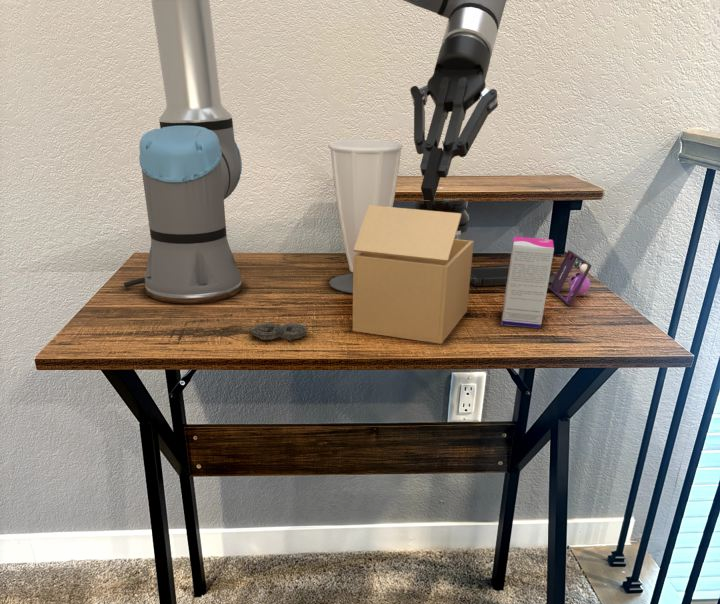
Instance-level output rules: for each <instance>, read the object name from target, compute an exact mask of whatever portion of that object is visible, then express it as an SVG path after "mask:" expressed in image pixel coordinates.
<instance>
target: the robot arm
mask: <svg viewBox="0 0 720 604" xmlns="http://www.w3.org/2000/svg"><path fill="white" fill-rule="evenodd" d="M402 1H403V2H405V3H409V4H411V5H414V6H416V7H418V8H421V9H424V10H427V11H429V12H431V13H435V14H437V16H441V17H444V18H446V19H448V20H447V24H446V26H445V30H444V34H443V38H442V41H441V46H440V48H439V51H438V55H437V59H436V62H435V66H434V70H433V74H432V75H431V77H430V78H429V79H428V81H427V84H426V85H424V86H422V87H420V88H419V86H417V85H412V86H411V87H410V88H409V91H410V96H411V100H412V104H413V142H414V146H415V151H416V153H417V154H418V155H422V158H421V161H420V165H419V168H420V173H421V176H422V177H423V178H422V182H421V185H420V190H421V191H420V192H422V195H423V199H424V200H430V201H434V199H435V195H436V191H438V187H439V184H440V179H441V178H443V179H444V178H447V176H448V175H449V171H450V168H451V165H452V161H453V159H454V158H456V157H460V158H465V157H466V156H468V153H469V151H470V149H471V147H472V146H473V144H474V142H475V140H476V138H477V137H478V134H479V133H480V131H481V129H482V127H483V126H484V124H485V122H486V120H487V118H488V116H489V115H490V114H492V113H493V111H495V110H496V109H497V108H498V106H499V100H498V99H499V98H498V90H497V89H495V88H491V89H488V88H487V87H486V84H487V83H486V79H487V75H488V72H489V68H490V64H491V58H492V55H493V52H494V48H495V45H496V41H497V36H498V32H499V28H500V25H501V21H502V17H503V15H504V11H505V7H506V5H507V0H402ZM151 7H152V14H153V20H154V28H155V35H156V40H157V47H158V54H159V60H160V61H159V62H160V68H161V75H162V82H163V89H164V95H165V97H164V98H165V103H166V107H165V110H164V111H163V112H162V113H161V115H160V117H158V118H159V119H158V122H159V127H160V128H155V129H151V130H148V131H147V132H145V133H144V134H143V135H142V136H141V138H140V140H139V145H138V146H139V157H138V159H139V166H140V169H141V175H142V183H143V191H144V198H145V204H146V212H147V220H148V228H149V236H150V248H149V253H148V259H147V263H146V269H145V275H144V276H143V277H140V278H136V279H131V280H128V281H125V282H123V287H124V288H130V287H133V286H137V285H141V284H144V288H145V289H144V290H145V293H146V295H147V296H149V297H150V298H152V299H154V300H156V301H161V302H165V303H171V304H175V303H176V304H203V303H211V302H217V301H222V300H226V299H229V298H231V297H234V296H236V295H237V294H239V293H240V292H241V291H242V288H243V285H242V277H241V273H240V270H239V267H238V264H237V261H236V260H235V257H234V254H233V252H232V249H231V246H230V244H229V242H228V237H227V224H226V222H227V221H226V209H225V200H226V199H227V198H229V197H230V196H231V195H232V194H233V192H235V190H236V189H237V186H238V184H239V182H240V179H241V175H242V170H243V169H242V168H243V162H242V156H241V152H240V149H239V147H238V144H237V143H236V140H235V131H234V123H233V116H232V113H230V112H229V111H228V110H227V109H226V108H225V107H224V106H223V104H222V100H221V99H222V98H221V90H220V81H219V73H218V72H219V71H218V66H217V65H218V64H217V63H218V62H217V54H216V46H215V38H214V37H215V36H214V26H213V18H212V10H211V1H210V0H151ZM429 96H430V98H431V99H432V101H433V103H434V105H435V107H434V110H433V115H432V117H431V120H430V125H429V128H428V132H427V135H426V109H425V106H426V105H427V103H428V97H429ZM476 103H477V104H476ZM475 104H476V105H475ZM473 105H475V107H474V109H473V110H472V113H471V114H470V117H469V118H468V120H467V122H466V124H465V126H464V127H463V129H462V126H463V122H464V121H465V119H466V114H467V111H468V110H470V108H471V107H472V106H473ZM449 113H451V114H450V117H449ZM448 117H449V121H448V125H447V128H446V132H445V136H444V140H442V147H439V146H440V142H441V139H442V135H443V130H444V127H445V124H446V121H447V120H448ZM461 130H462V131H461ZM239 257H241V253H239Z"/></svg>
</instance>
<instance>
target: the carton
mask: <svg viewBox="0 0 720 604" xmlns="http://www.w3.org/2000/svg"><path fill="white" fill-rule="evenodd" d="M474 241H475V240H469V239H466V240H460V239H454V243H453V246H452V250H451V253H450V256H449V260H448V262H444V261H435V260H426V259H417V258H408V257H399V256H389V255H380V254H371V253H362V252H358V253H357V254H355V255H354V256H353V293H352V332H358V333H364V334H370V335H379V336H384V337H392V338H399V339H406V340H412V341H419V342H424V343H425V342H427V343H432V344H433V343H434V344H440V345H441V344H443V343H444V341H445V340H446V339H447V338H448V336H449V335H450V334H451V332H452V331H453V330H454V329H455V328H456V326H457V325H458V323H459V322H460V321H461V320H462V318H463V317H464V316H465V315H466V313H467V312H468V304H469V294H470V285H471V283H470V274H471V267H472V264H473V263H472V262H473V251H474V244H475V243H474Z"/></svg>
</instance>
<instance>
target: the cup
mask: <svg viewBox="0 0 720 604" xmlns="http://www.w3.org/2000/svg"><path fill="white" fill-rule="evenodd" d="M327 146H328V148H329V149H330V156H331V167H332V176H333V186H334V193H335V201H336V208H337V214H338V221H339V228H340V233H341V238H342V243H343V249H344V253H345V256H346V259H347V263H348V267H349V268H348V269H349V272H350V273H346V274H340V275H336V276H335V277H333V278H330V280H329V282H328V284H329V286H330V287H331V288H332V289H334V290H336V291H338V292H343V293H347V294H353V256H354V255H355V254H357V253H358V252H354V247H355V244H356V241H357V238H358V235H359V232H360V229H361V226H362V224H363V221H364V218H365V215H366V212H367V209H368V206H369V205H373V206H384V207H394V203H395V202H394V201H395V197H396V191H397V185H398V176H399V170H400V162H401V154H402V153H401V152H402V149H403V147H404V146H403V144H402V143H401V142H398V141H393V140H386V139H372V138H371V139H370V138H352V139H351V138H349V139H338V140H333V141H331V142H329V143H328V145H327Z"/></svg>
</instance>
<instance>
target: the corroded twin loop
mask: <svg viewBox="0 0 720 604" xmlns="http://www.w3.org/2000/svg"><path fill="white" fill-rule="evenodd" d="M308 330H309V328H308V327H307V326H305V325H303V324H300V323H286V324H278V323H275V322H265V323H260V324H257V325H254V326H251V327H249V331H250V332H251V333H252V336H254V337H255V338H256V339H257V338H258V339H260V340H263V341H267V340H268V341H269V340H274V339H278V338H281V339H284V340H287V341H292V340H297V339H302V338H303V337H305V336H306V334H307V331H308Z"/></svg>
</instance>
